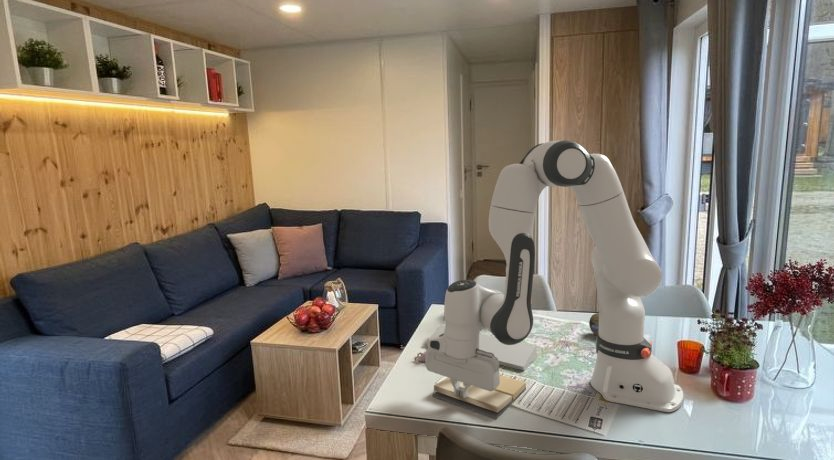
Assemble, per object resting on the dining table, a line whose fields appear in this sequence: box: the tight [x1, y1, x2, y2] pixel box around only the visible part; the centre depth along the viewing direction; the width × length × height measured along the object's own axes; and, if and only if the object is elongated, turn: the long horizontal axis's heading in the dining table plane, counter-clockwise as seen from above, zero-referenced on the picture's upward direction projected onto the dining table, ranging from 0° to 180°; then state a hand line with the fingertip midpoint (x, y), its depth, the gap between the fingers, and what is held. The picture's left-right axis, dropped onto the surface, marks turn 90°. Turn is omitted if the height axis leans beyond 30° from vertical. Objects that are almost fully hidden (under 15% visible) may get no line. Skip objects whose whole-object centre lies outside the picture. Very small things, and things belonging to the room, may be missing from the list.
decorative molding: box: [425, 324, 538, 372], centre depth 154 cm, size 34×5×10 cm
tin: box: [588, 312, 599, 337], centre depth 159 cm, size 15×3×8 cm, turn 40°
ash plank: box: [433, 377, 512, 413], centre depth 126 cm, size 19×8×2 cm, turn 53°
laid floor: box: [432, 374, 527, 420], centre depth 129 cm, size 19×17×2 cm
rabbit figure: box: [414, 351, 426, 363], centre depth 148 cm, size 6×6×15 cm
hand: (461, 395), depth 123 cm, fingers closed, pressing on ash plank
